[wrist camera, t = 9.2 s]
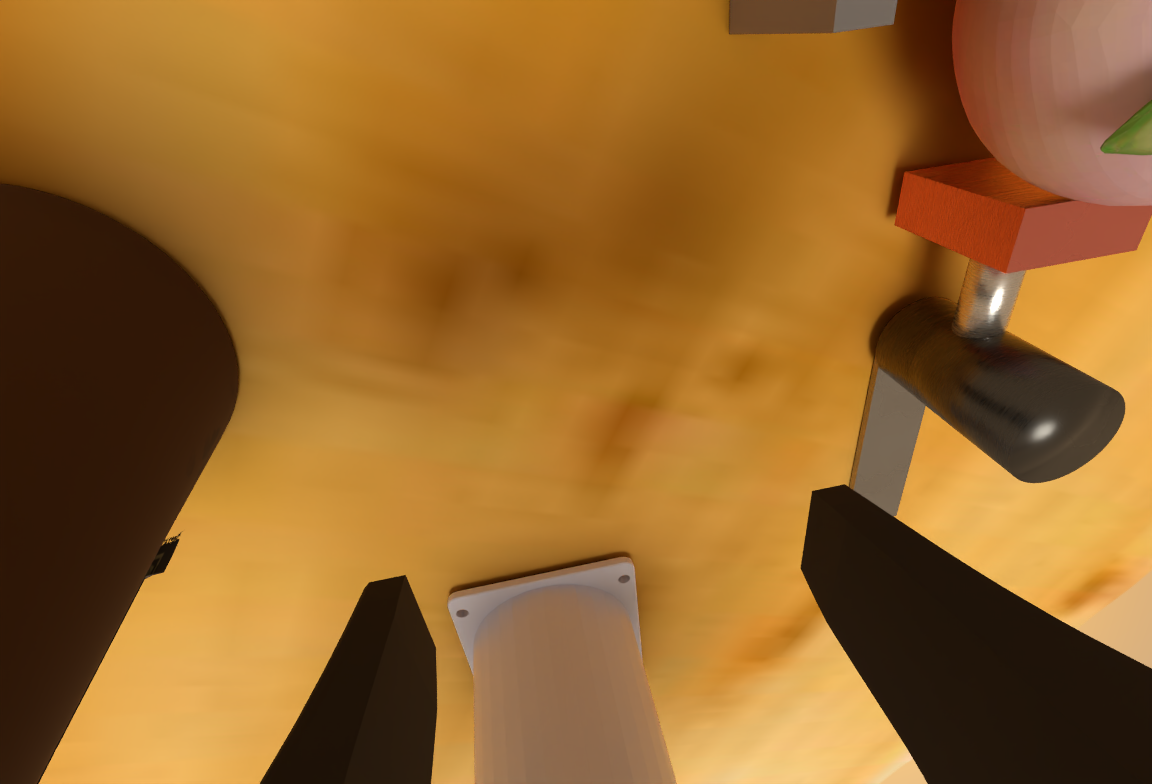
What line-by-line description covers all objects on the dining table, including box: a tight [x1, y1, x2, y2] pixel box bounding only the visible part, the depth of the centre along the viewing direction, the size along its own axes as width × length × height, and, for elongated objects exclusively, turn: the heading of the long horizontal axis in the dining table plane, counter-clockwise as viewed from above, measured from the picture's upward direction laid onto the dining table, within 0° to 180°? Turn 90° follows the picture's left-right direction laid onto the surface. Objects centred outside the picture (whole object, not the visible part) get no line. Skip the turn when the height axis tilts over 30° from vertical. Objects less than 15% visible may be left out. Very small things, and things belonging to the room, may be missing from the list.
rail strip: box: [849, 354, 926, 516], centre depth 23 cm, size 9×2×1 cm, turn 7°
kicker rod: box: [876, 157, 1152, 483], centre depth 17 cm, size 8×4×6 cm, turn 7°
